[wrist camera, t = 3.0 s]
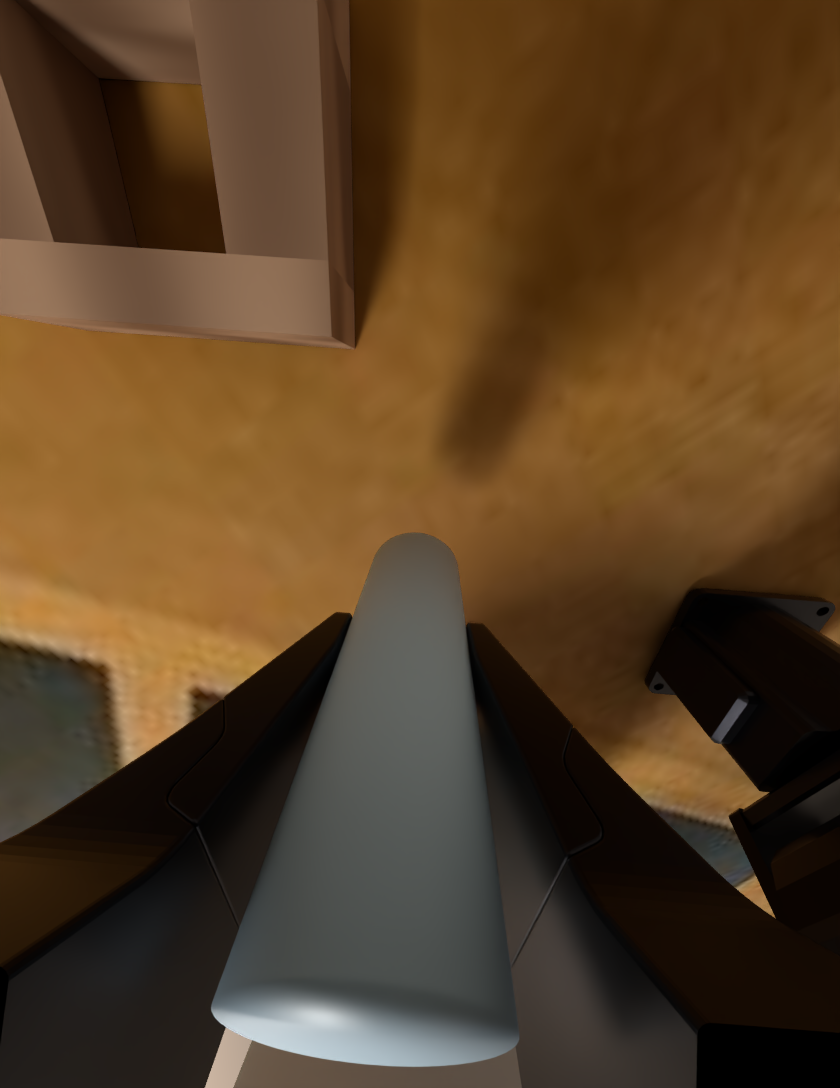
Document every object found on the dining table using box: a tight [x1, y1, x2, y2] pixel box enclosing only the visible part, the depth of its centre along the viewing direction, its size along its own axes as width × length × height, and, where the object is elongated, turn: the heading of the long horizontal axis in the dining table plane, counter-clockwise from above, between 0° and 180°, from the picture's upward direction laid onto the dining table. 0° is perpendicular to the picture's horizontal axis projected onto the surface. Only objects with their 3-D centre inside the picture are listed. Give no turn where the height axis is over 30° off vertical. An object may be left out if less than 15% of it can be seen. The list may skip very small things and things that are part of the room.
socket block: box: [0, 0, 355, 349], centre depth 9 cm, size 10×8×3 cm
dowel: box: [211, 533, 519, 1067], centre depth 7 cm, size 3×3×9 cm
